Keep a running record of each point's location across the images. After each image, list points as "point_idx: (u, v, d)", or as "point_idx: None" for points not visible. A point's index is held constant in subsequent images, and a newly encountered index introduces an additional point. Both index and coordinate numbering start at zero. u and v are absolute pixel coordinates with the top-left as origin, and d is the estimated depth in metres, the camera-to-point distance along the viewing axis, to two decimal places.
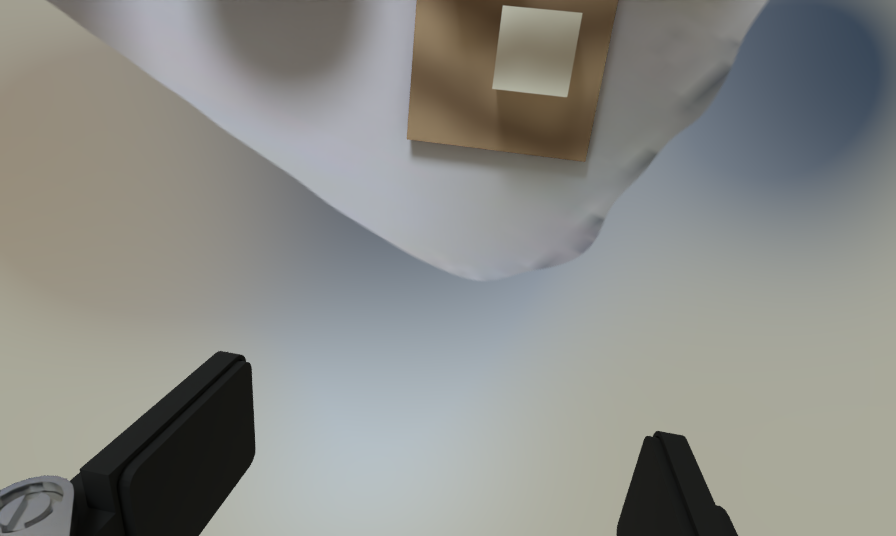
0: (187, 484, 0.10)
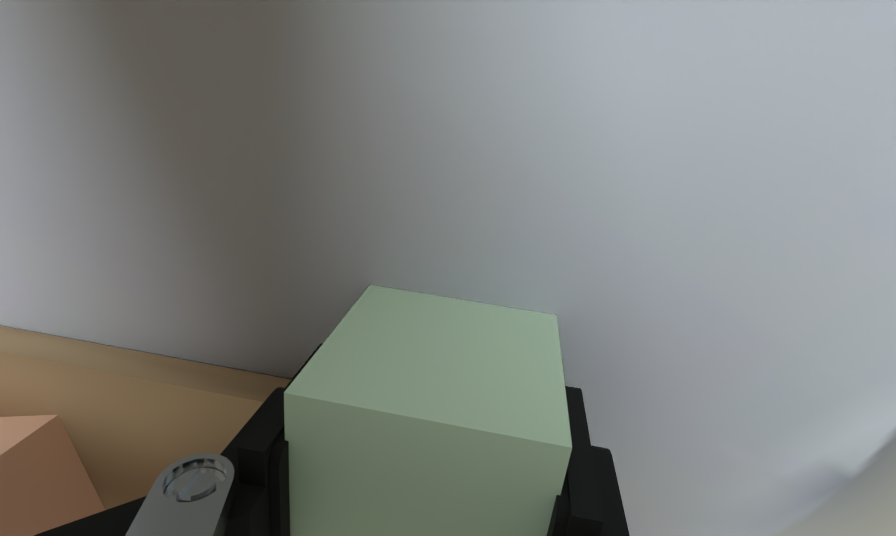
0: None
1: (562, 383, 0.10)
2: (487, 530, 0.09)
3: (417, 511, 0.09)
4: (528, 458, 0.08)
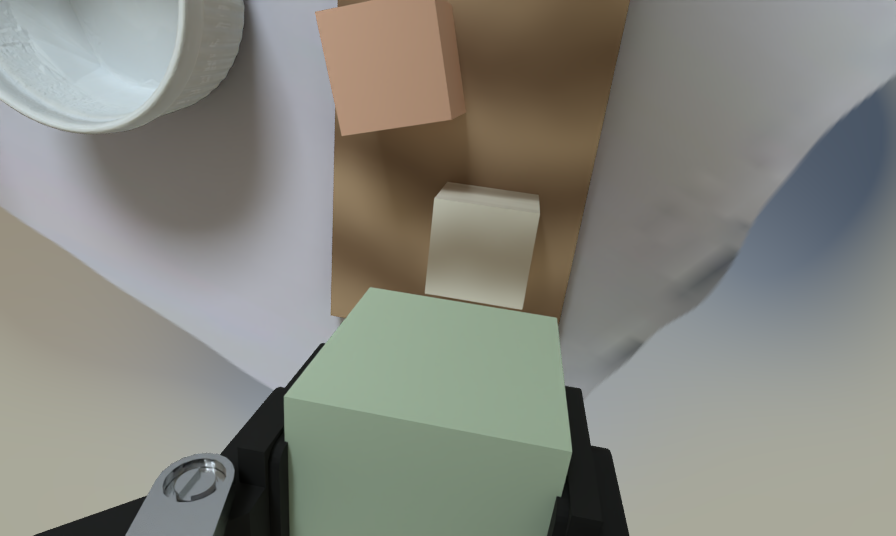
0: None
1: (562, 387, 0.10)
2: (487, 534, 0.09)
3: (417, 515, 0.09)
4: (528, 462, 0.08)
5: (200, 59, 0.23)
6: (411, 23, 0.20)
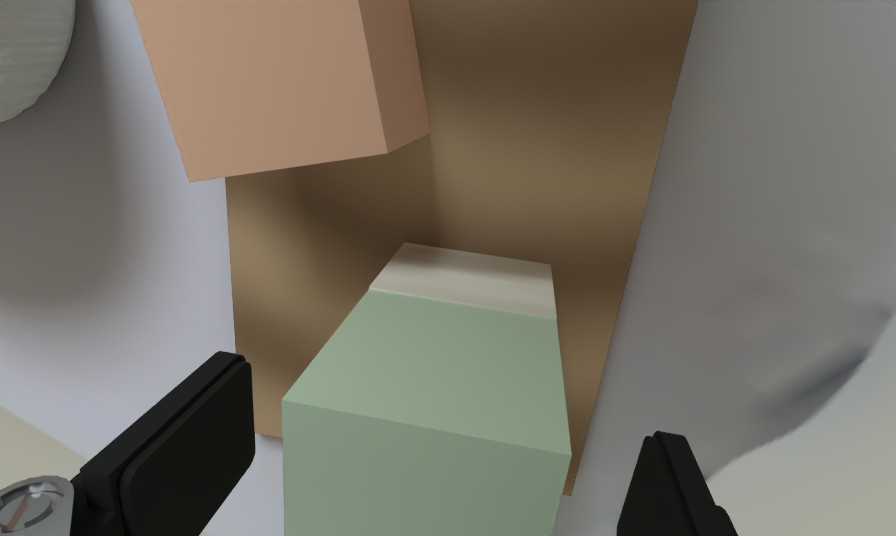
0: (187, 484, 0.10)
1: (562, 389, 0.10)
2: None
3: (416, 518, 0.09)
4: (527, 466, 0.08)
5: None
6: None
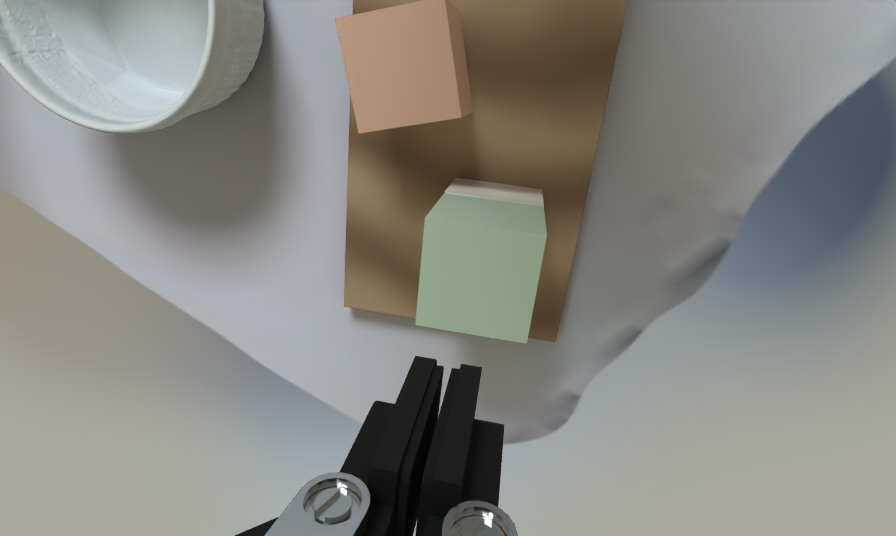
0: (418, 481, 0.10)
1: (544, 223, 0.21)
2: (511, 281, 0.21)
3: (480, 273, 0.21)
4: (529, 242, 0.20)
5: (225, 63, 0.25)
6: (424, 28, 0.21)
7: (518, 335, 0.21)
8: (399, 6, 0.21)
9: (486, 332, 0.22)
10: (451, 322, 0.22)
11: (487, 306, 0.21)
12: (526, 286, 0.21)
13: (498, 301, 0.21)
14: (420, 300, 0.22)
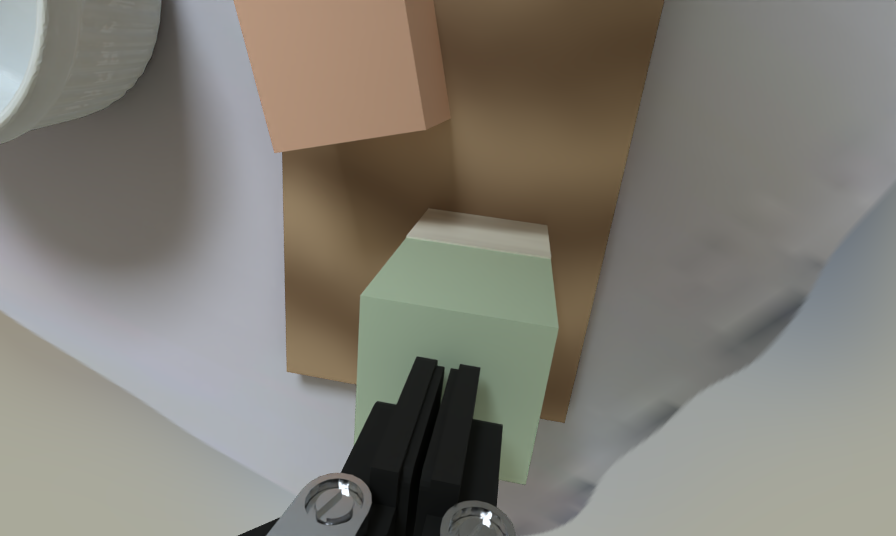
0: (419, 481, 0.10)
1: (553, 296, 0.14)
2: (500, 394, 0.13)
3: None
4: (528, 337, 0.12)
5: (87, 49, 0.17)
6: None
7: (512, 472, 0.14)
8: None
9: None
10: None
11: None
12: (524, 403, 0.13)
13: None
14: (359, 416, 0.14)
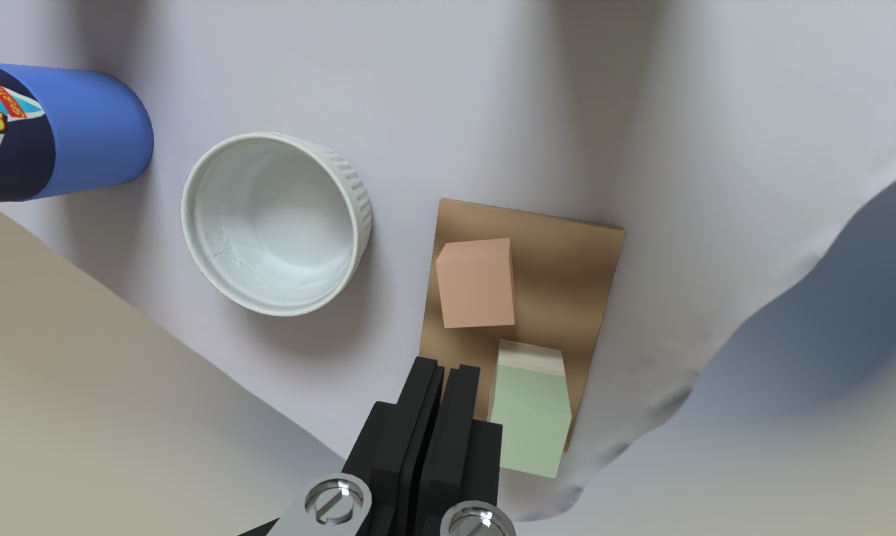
0: (419, 481, 0.10)
1: (568, 400, 0.33)
2: (547, 441, 0.32)
3: (527, 435, 0.32)
4: (560, 419, 0.32)
5: None
6: (494, 272, 0.33)
7: (550, 473, 0.33)
8: (479, 259, 0.33)
9: (529, 470, 0.33)
10: (507, 462, 0.33)
11: (531, 455, 0.33)
12: (557, 444, 0.32)
13: (538, 452, 0.33)
14: None
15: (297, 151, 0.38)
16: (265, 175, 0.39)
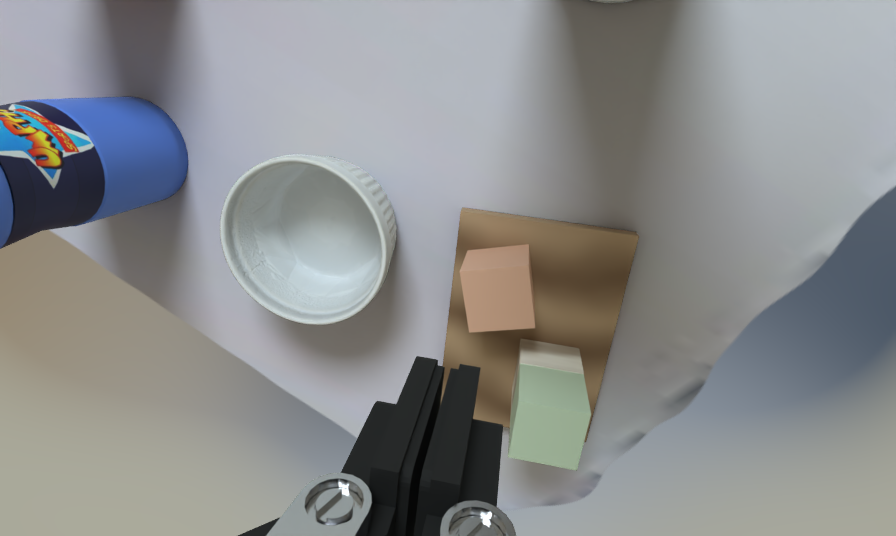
0: (419, 481, 0.10)
1: (587, 398, 0.35)
2: (568, 436, 0.35)
3: (550, 431, 0.35)
4: (580, 417, 0.34)
5: None
6: (515, 280, 0.35)
7: (571, 465, 0.35)
8: (500, 268, 0.35)
9: (552, 463, 0.36)
10: (531, 456, 0.36)
11: (553, 449, 0.35)
12: (577, 439, 0.35)
13: (560, 446, 0.35)
14: (512, 444, 0.36)
15: None
16: (294, 190, 0.41)
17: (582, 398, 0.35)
